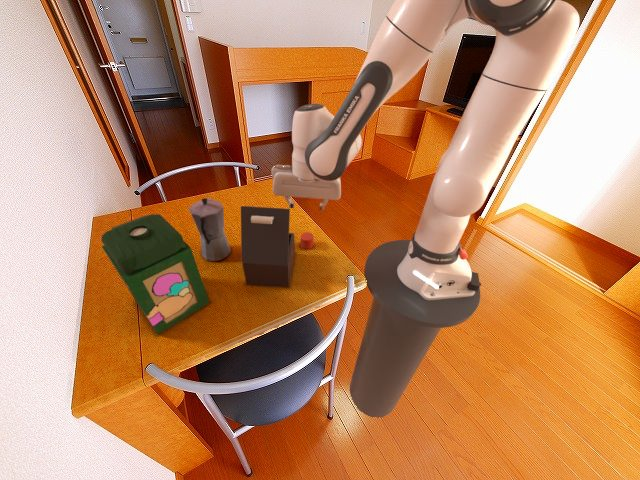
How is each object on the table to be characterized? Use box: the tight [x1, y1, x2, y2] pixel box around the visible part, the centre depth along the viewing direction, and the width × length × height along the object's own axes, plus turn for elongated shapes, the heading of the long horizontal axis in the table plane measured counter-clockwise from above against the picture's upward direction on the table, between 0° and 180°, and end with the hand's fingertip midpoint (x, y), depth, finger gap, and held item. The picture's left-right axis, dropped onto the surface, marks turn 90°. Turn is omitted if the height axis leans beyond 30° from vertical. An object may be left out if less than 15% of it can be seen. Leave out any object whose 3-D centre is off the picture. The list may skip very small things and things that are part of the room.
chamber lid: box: [240, 205, 291, 265], centre depth 71 cm, size 15×13×5 cm
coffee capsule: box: [300, 231, 315, 250], centre depth 94 cm, size 4×4×4 cm
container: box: [101, 213, 211, 336], centre depth 67 cm, size 15×18×25 cm
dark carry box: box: [241, 232, 296, 288], centre depth 84 cm, size 15×13×9 cm
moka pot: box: [188, 197, 231, 262], centre depth 84 cm, size 10×15×20 cm, turn 14°
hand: (306, 208), depth 86 cm, fingers open, 8 cm apart
